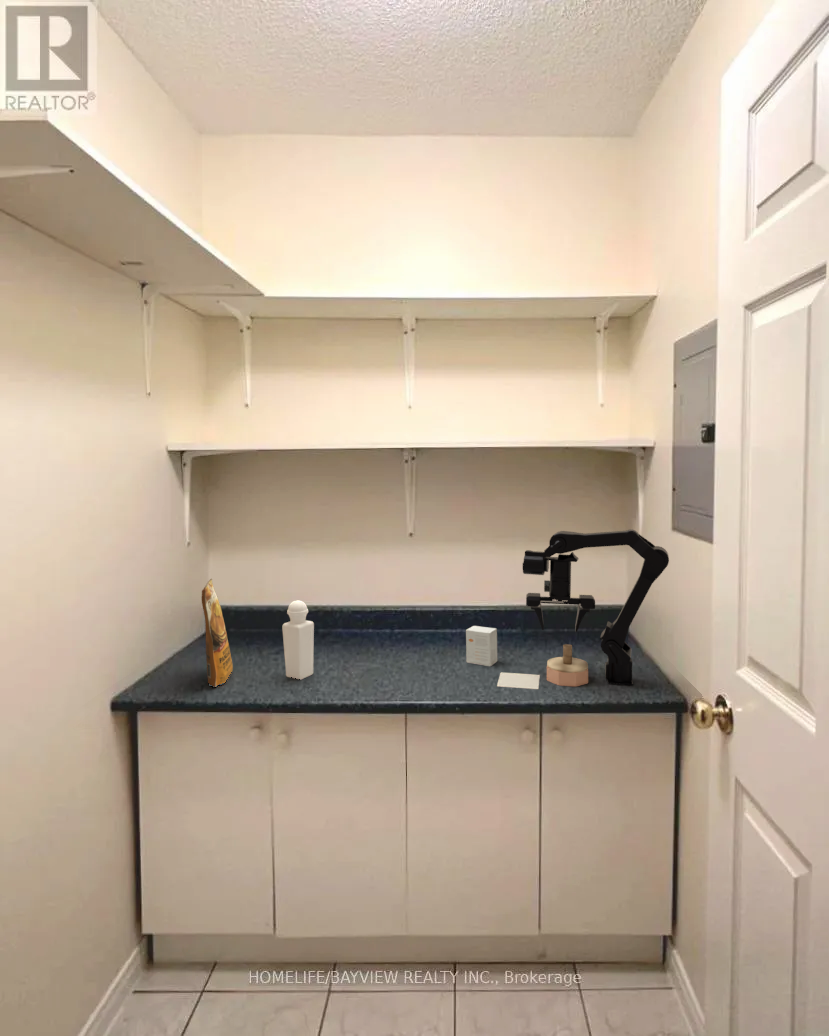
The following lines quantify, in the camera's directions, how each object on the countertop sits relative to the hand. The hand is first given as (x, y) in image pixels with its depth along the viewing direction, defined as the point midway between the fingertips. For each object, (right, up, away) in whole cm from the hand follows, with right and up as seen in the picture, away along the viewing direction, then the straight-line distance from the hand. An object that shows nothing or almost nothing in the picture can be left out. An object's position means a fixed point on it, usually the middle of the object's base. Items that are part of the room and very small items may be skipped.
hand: (559, 630), depth 174 cm
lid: (+1, -9, -4) cm, 10 cm away
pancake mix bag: (-97, -14, +2) cm, 98 cm away
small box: (-21, -12, +12) cm, 27 cm away
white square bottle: (-74, -14, +3) cm, 75 cm away
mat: (-12, -13, -4) cm, 19 cm away
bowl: (+1, -13, -3) cm, 14 cm away
